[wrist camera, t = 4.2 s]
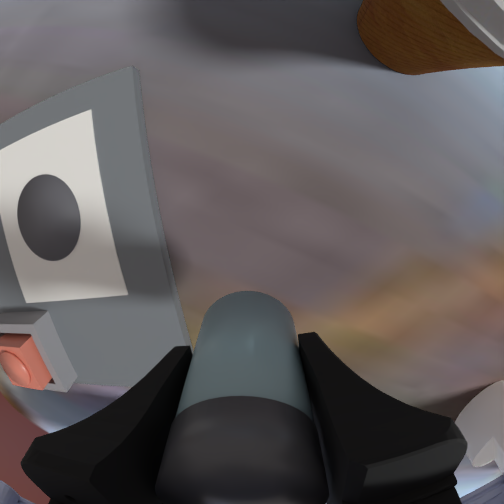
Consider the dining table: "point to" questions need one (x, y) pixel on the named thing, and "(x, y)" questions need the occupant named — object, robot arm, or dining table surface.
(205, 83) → the dining table surface
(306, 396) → the salt shaker
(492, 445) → the base with upright slab
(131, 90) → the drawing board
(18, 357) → the button
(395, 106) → the dining table surface
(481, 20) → the disposable coffee cup
